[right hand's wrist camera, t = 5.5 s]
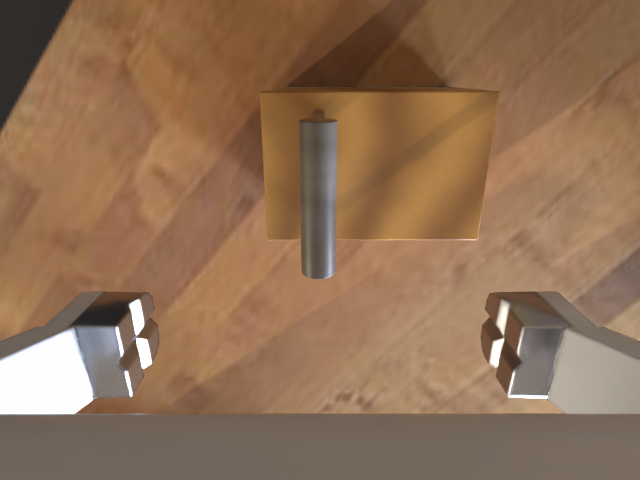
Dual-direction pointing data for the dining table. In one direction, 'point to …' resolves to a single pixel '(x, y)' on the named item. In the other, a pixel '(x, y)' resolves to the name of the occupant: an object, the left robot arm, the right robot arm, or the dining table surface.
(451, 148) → the lid
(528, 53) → the dining table surface
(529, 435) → the right robot arm
